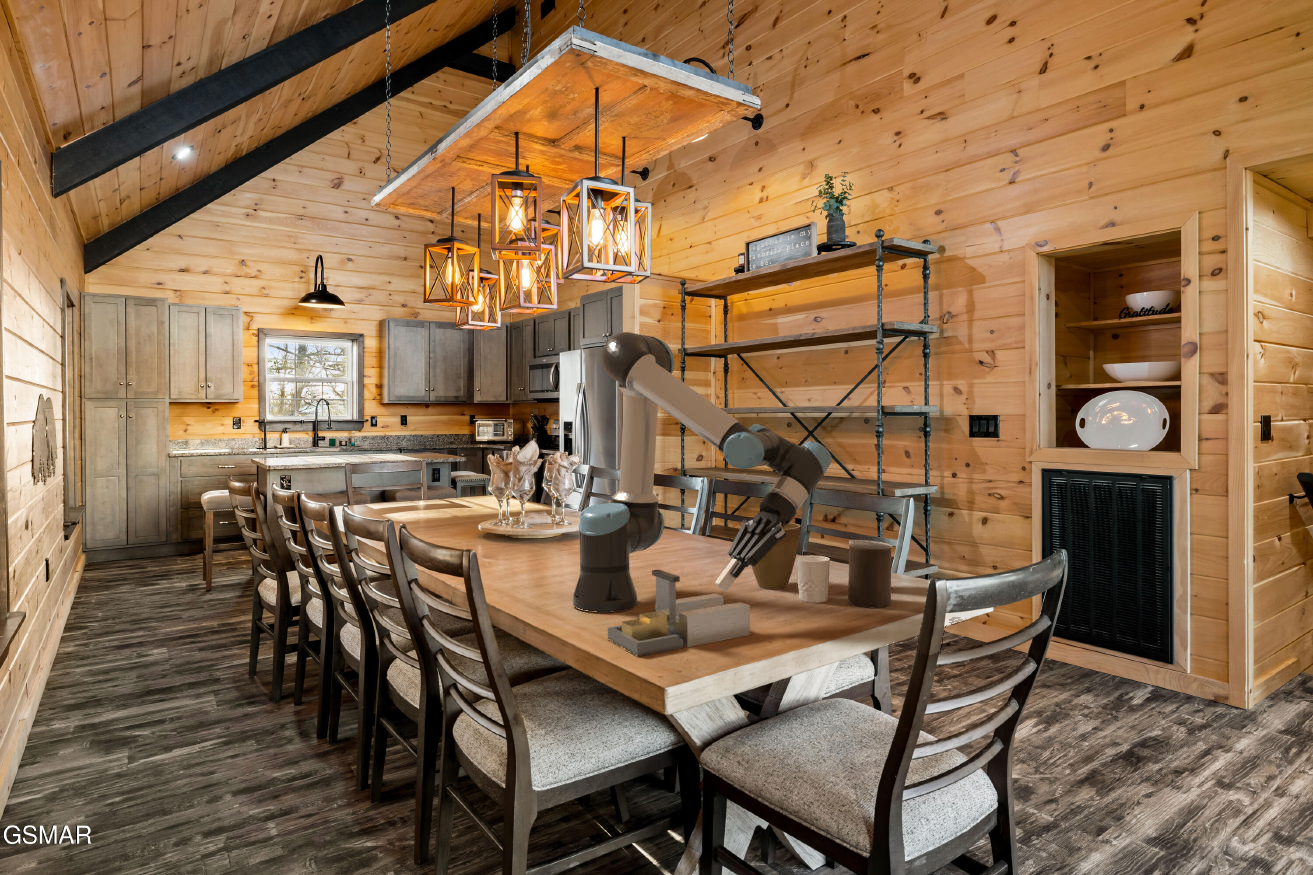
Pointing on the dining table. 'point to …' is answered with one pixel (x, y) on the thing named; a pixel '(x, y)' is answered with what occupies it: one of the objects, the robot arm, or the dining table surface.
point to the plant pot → (779, 560)
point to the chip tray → (644, 642)
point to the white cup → (813, 578)
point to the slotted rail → (709, 620)
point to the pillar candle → (869, 574)
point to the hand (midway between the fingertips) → (720, 587)
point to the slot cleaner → (666, 593)
